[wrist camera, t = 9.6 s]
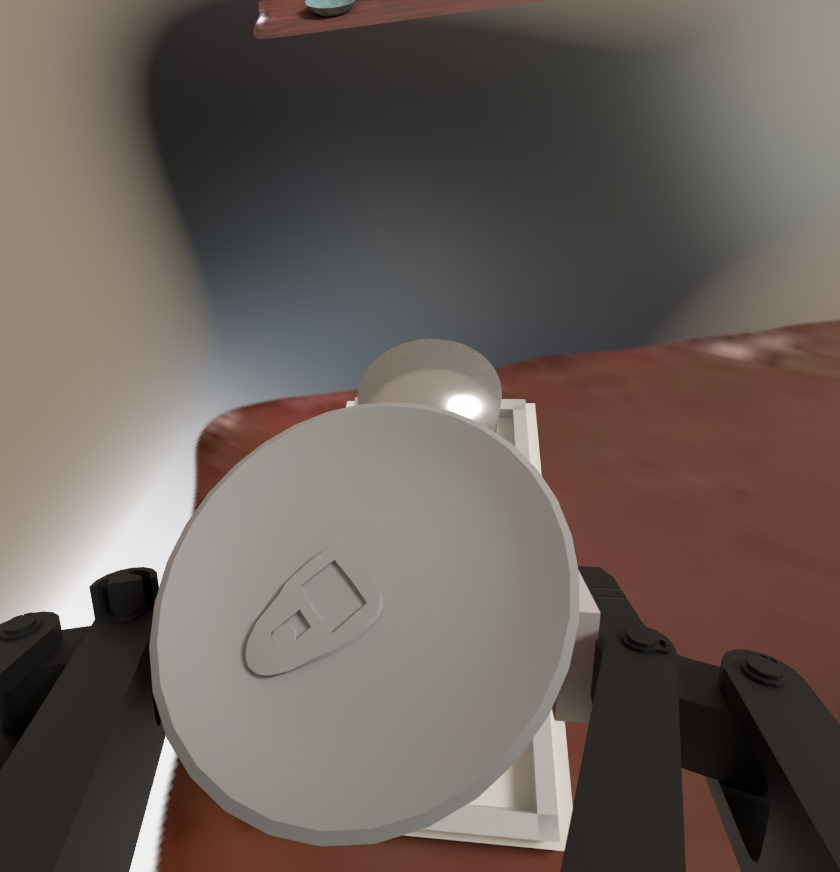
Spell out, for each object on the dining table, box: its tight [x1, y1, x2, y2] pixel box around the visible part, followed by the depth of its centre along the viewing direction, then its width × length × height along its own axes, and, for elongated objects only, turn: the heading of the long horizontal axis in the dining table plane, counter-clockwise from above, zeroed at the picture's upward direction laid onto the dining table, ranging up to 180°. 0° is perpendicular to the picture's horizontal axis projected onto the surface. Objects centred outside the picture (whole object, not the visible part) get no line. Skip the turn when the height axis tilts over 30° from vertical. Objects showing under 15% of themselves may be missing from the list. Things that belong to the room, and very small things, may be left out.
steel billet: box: [357, 339, 502, 433], centre depth 29 cm, size 8×8×11 cm
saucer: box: [305, 0, 356, 16], centre depth 102 cm, size 12×12×2 cm
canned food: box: [149, 402, 579, 846], centre depth 13 cm, size 8×8×11 cm
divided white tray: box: [346, 397, 573, 851], centre depth 31 cm, size 16×28×3 cm, turn 176°
